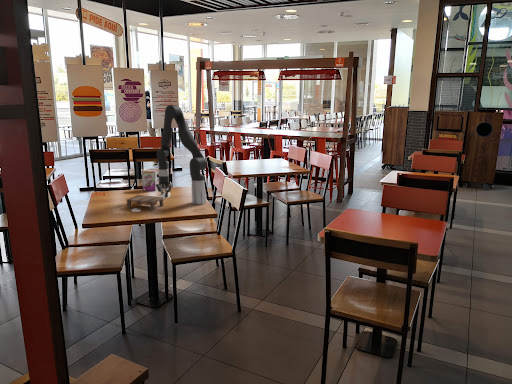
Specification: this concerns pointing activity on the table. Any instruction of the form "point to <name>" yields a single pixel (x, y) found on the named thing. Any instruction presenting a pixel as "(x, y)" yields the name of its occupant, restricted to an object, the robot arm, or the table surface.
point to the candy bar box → (149, 180)
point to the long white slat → (161, 196)
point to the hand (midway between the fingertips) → (164, 197)
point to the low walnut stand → (145, 201)
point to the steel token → (136, 210)
